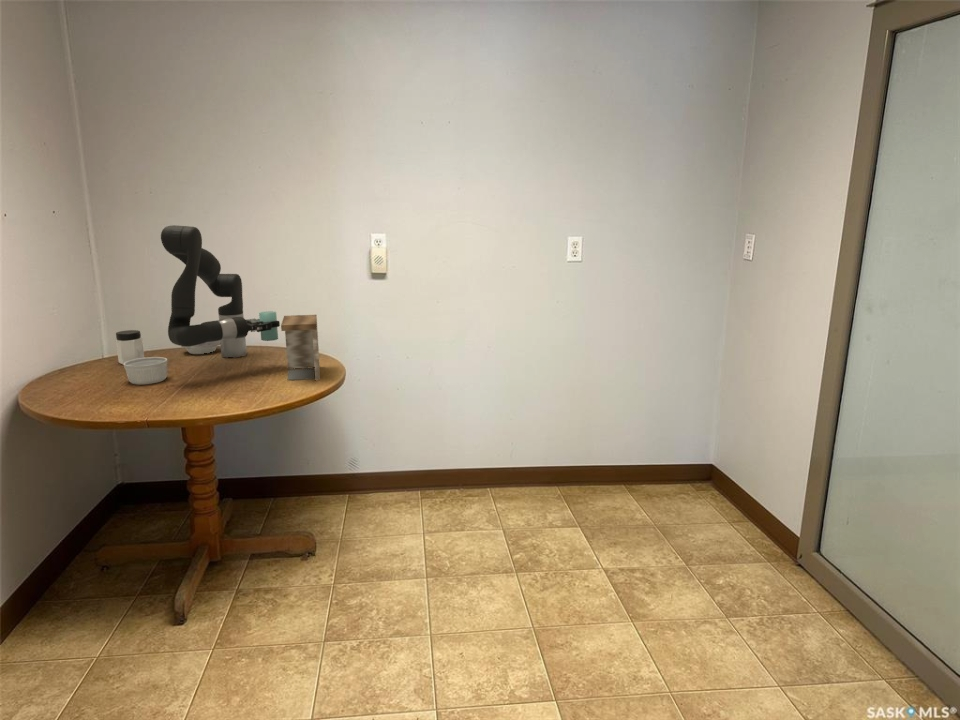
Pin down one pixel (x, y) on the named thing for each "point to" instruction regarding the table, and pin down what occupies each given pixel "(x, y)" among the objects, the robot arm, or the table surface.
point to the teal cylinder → (268, 334)
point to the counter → (302, 342)
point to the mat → (300, 374)
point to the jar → (129, 345)
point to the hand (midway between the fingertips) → (274, 322)
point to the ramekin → (146, 370)
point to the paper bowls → (203, 347)
